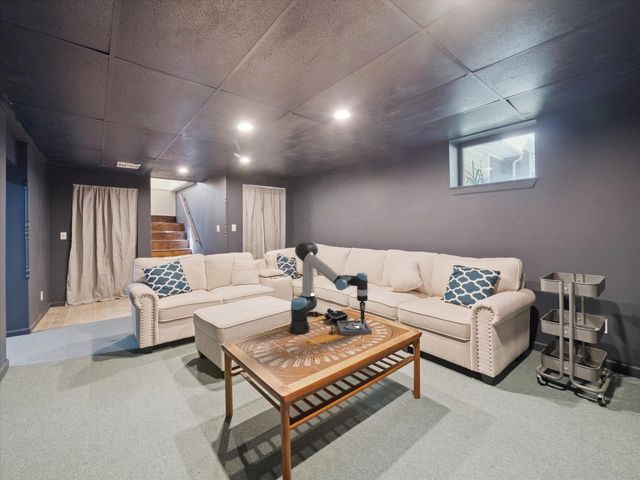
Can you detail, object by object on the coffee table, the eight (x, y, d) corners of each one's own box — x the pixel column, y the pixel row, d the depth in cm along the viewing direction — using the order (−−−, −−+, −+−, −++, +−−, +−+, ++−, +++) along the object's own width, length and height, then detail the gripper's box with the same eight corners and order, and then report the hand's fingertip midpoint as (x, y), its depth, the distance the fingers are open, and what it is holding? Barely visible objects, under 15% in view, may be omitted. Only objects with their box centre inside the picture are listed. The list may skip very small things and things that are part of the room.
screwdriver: (332, 334, 206) (332, 331, 206) (330, 326, 222) (330, 323, 222) (336, 334, 206) (336, 330, 206) (334, 326, 222) (333, 323, 222)
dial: (345, 330, 210) (345, 321, 210) (343, 324, 223) (343, 316, 223) (364, 329, 211) (364, 321, 210) (361, 323, 224) (361, 315, 223)
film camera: (320, 320, 238) (334, 315, 248) (334, 327, 226) (348, 322, 235) (320, 310, 237) (334, 306, 247) (334, 317, 225) (348, 312, 234)
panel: (340, 334, 205) (340, 331, 205) (336, 324, 227) (336, 320, 227) (371, 333, 207) (371, 330, 206) (364, 323, 228) (364, 320, 228)
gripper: (368, 297, 200) (368, 331, 201) (367, 292, 213) (367, 324, 214) (357, 297, 201) (357, 330, 202) (356, 292, 214) (357, 324, 215)
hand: (362, 327), depth 208 cm, fingers closed
